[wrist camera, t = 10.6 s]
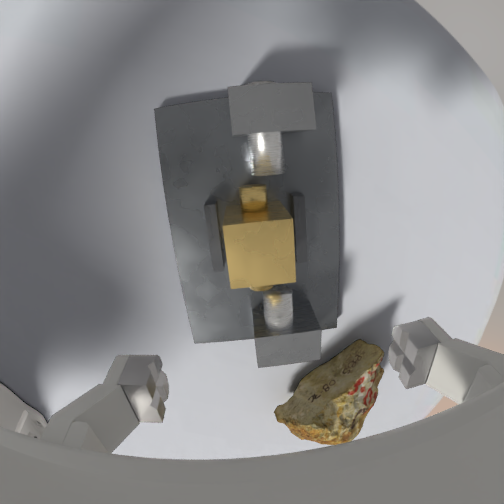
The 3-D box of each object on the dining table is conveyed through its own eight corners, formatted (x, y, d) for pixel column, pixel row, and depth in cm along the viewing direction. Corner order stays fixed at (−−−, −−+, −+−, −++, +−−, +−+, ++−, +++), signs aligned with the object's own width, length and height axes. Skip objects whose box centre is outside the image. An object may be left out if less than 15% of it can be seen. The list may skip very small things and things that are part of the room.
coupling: (284, 270, 24) (296, 304, 19) (234, 275, 24) (234, 311, 19) (278, 179, 22) (291, 190, 17) (223, 184, 22) (219, 198, 16)
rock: (329, 326, 33) (380, 338, 24) (371, 368, 34) (423, 386, 24) (261, 404, 31) (291, 444, 21) (310, 439, 31) (350, 478, 22)
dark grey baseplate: (333, 324, 28) (349, 357, 23) (196, 339, 27) (190, 375, 23) (327, 90, 20) (349, 78, 16) (157, 106, 20) (136, 97, 15)
